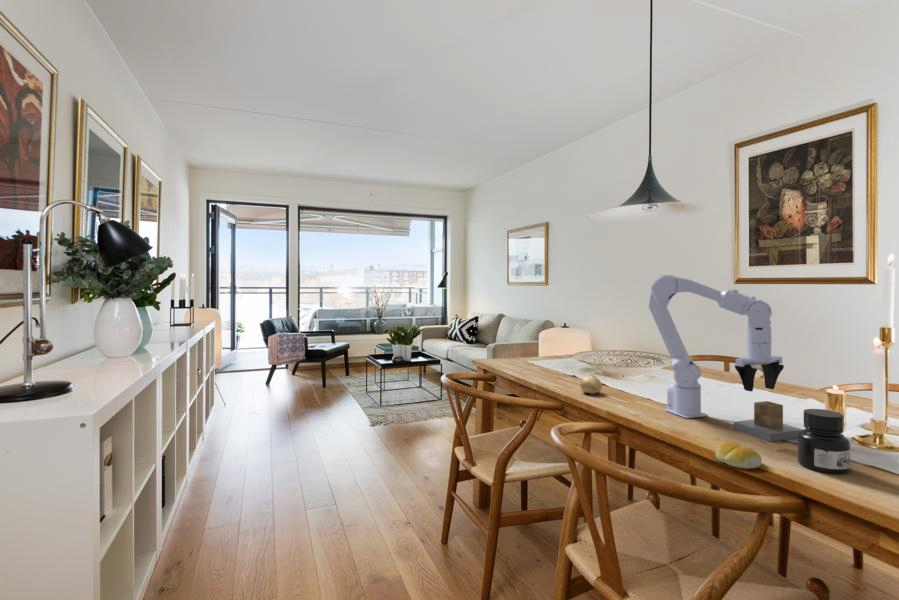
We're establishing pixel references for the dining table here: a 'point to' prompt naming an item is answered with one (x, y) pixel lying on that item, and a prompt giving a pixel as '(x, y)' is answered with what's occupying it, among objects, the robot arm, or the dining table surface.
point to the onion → (591, 385)
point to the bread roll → (738, 456)
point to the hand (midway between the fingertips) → (759, 389)
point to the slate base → (767, 431)
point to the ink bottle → (824, 442)
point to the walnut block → (768, 414)
